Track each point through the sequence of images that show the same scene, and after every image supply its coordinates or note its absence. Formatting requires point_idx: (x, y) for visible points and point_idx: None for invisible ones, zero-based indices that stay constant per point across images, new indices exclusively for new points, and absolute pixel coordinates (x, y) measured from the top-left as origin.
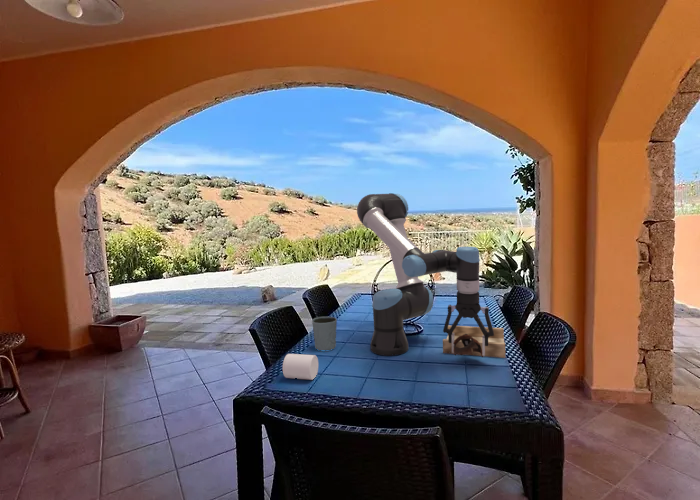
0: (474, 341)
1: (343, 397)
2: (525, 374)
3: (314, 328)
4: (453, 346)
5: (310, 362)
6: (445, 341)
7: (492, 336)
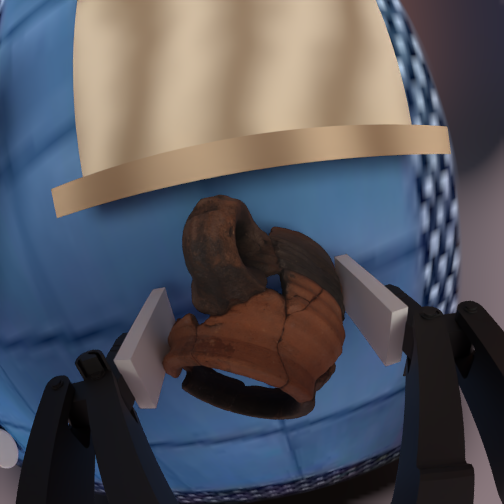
0: (319, 374)
1: None
2: (453, 295)
3: None
4: (168, 351)
5: (7, 467)
6: (74, 211)
7: None
